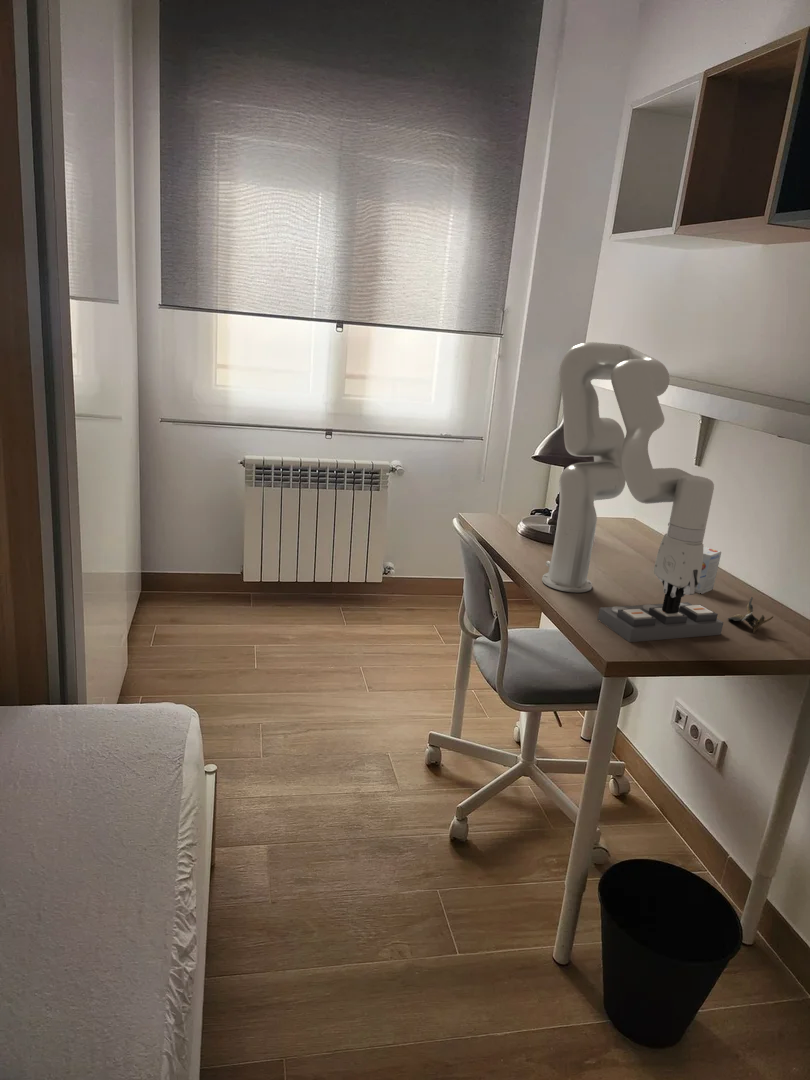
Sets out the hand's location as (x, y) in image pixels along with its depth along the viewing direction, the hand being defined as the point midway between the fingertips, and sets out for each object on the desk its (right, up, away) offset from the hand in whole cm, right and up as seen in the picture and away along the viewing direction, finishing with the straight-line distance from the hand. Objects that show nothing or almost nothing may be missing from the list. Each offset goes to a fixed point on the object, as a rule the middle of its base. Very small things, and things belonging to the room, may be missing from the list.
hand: (670, 611), depth 173 cm
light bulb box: (+17, +4, +34) cm, 38 cm away
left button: (-8, -2, -2) cm, 9 cm away
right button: (+8, -1, +4) cm, 9 cm away
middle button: (0, -2, +1) cm, 2 cm away
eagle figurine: (+21, -5, +9) cm, 23 cm away
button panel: (-1, -4, +3) cm, 5 cm away
